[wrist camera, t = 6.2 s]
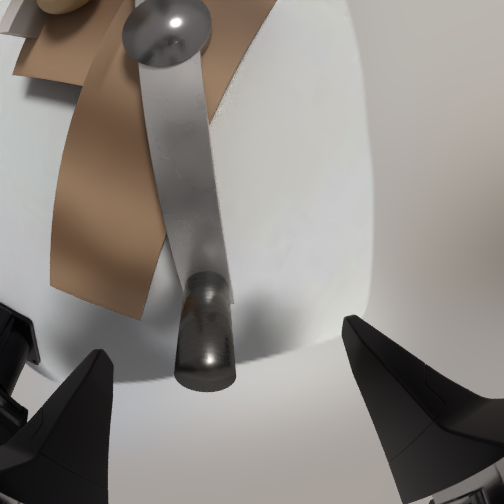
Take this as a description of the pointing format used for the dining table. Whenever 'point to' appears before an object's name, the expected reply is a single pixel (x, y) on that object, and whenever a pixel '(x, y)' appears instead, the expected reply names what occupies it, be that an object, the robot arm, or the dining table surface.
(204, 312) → the lever
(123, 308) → the board
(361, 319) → the robot arm
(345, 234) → the dining table surface
